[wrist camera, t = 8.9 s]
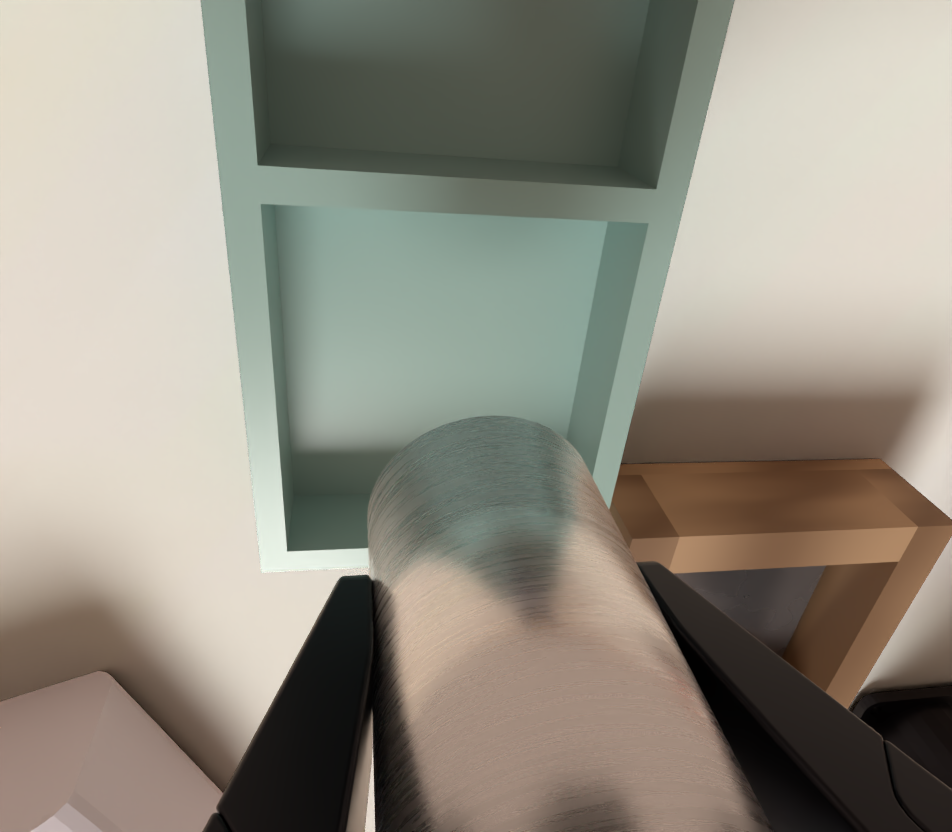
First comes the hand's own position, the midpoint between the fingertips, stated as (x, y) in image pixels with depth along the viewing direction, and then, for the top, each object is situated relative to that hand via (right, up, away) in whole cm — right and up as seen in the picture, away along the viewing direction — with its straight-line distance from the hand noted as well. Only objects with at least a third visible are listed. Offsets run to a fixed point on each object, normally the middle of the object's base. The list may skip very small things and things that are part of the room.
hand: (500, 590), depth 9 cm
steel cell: (0, +1, +1) cm, 2 cm away
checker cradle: (+7, -3, +12) cm, 14 cm away
